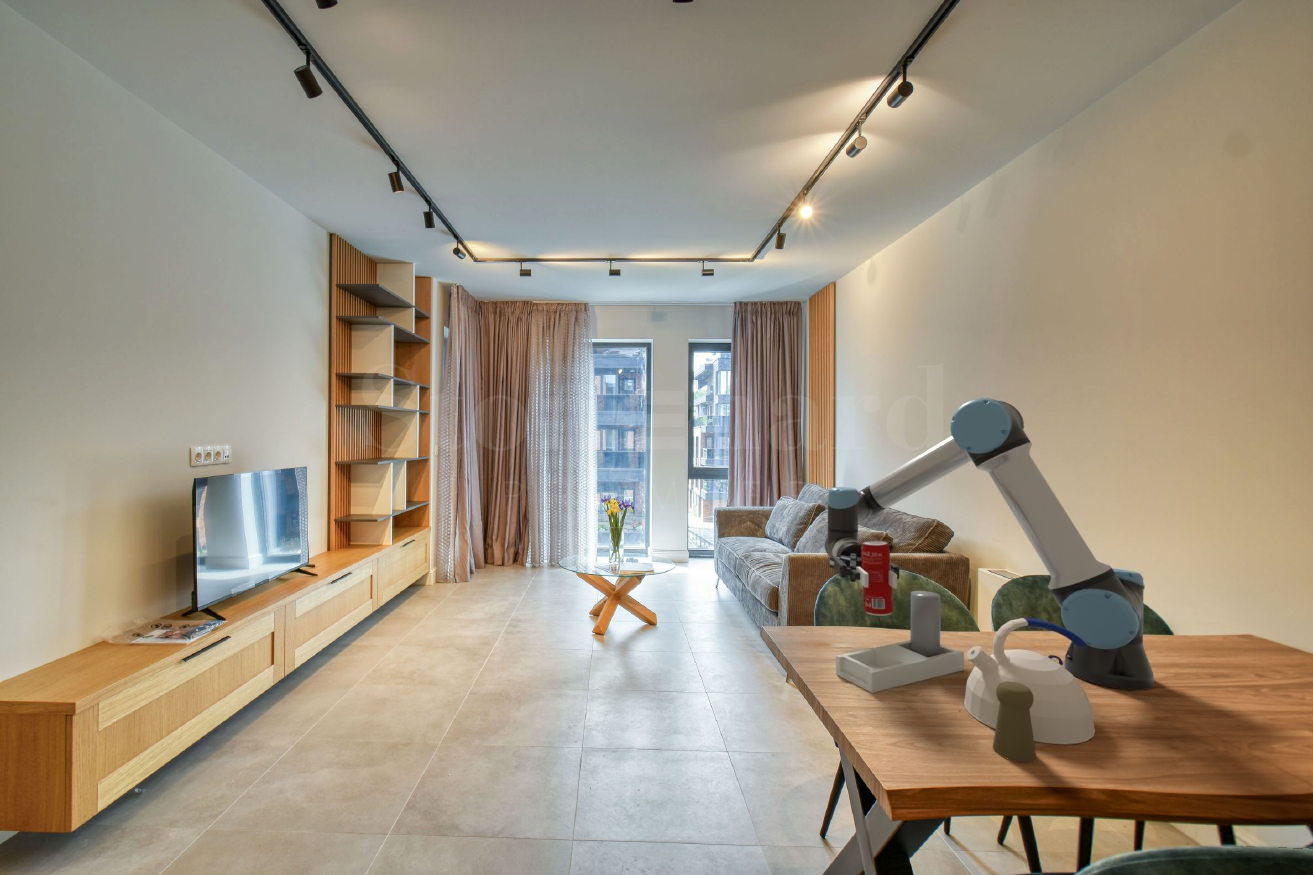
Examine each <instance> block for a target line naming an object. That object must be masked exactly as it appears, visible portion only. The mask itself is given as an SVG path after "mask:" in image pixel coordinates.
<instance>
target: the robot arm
mask: <svg viewBox="0 0 1313 875" xmlns="http://www.w3.org/2000/svg"><path fill="white" fill-rule="evenodd" d="M949 427H950V429H949V430H950V434H951V436H949V437H946V438H945V439H943V440H942V441H941V442H938V443H937V444H935V445H933V446H932V447H930V448H929V449H927V450H926V451H924V452H922V453H920V454H919V455H917V456H915V457H913V458H912V459H911V460H909V461H907V462H906V463H904V464H902V465H900V466H899V467H897V468H896V469H894V470H892V471H891V472H889V473H887V474H886V475H884V476H883V477H881V478H879V479H877V480H876V481H874V482H873V483H871V484H870V485H867V486H866V487H864V488H863V489H861V490H859V491H858V490H857V488H854V487H845V486H835V487H831V488H829V489H828V495H827V497H828V498H827V531H826V532H827V533H826V534H827V536H826V537H825V539H824V543H823V544H824V545H823V546H824V547H823V548H824V549H825V552H826V554H827V556H828V557H829V568H830V569H833V570H834V571H835V572H836V573H837V574H838V575H839V576H840V577H841V578H846V577H847V576H849V582H853V583H854V582H858V583H859V584H860V585H862V587H863V586H864V587H868V573H867V572H865V571H864V570H863V569H862V559H861V547H862V543H861V542H859V522H860V521H865V520H872V519H873V518H875V517H878V516H879V515H880V514H881V513H882V512H883V511H885V510H886V509H888V508H889V507H892V506H893V505H895V504H897V503H899V502H901V501H902V500H905V499H907V498H908V497H909V496H911V495H914V494H915V493H916V492H918V491H920V490H922V489H923V488H926V487H927V486H929V485H931V484H933V483H934V482H936V481H938V480H940V479H943V477H945V476H946V475H948V474H951V473H953V472H954V471H956V470H958V469H960V468H961V467H963V466H965V465H967V464H968V463H970V462H972V463H973V464H974V466H975V467H976V469H978V470H980V471H984V472H986V473H988V474H989V476H990V478H991V480H992V481H993V482H994V484H995V486H996V488H997V489H998V491H999V492H1000V495H1001V496H1002V497H1003V499H1004V501H1005V503H1006V504H1007V506H1008V507H1009V509H1010V511H1011V512H1012V514H1013V516H1014V517H1015V519H1016V521H1017V522H1018V524H1019V526H1020V527H1021V529H1022V531H1023V532H1024V534H1025V535H1026V537H1027V539H1028V541H1029V542H1030V544H1031V545H1032V548H1033V549H1034V551H1035V552H1036V553H1037V555H1038V557H1039V558H1040V559H1039V560H1041V562H1042V563H1043V565H1044V567H1045V568H1046V570H1047V572H1048V573H1049V575H1050V580H1049V583H1048V586H1047V587H1048V590H1049V591H1050V593H1051V594H1052V596H1053V597H1054V599H1055V602H1057V604H1058V606H1059V607H1060V615H1061V619H1062V624H1063V625H1064V628H1065V629H1067V630H1069V631H1071V632H1073V633H1074V634H1076V635H1077V636H1079V637H1080V638H1081V639H1082V640H1083V641H1084V642H1085V643H1086V646H1077V645H1075V644H1074V643H1073V642H1072V641H1071V640H1070V643H1069V646H1068V649H1067V651H1066V653H1065V655H1064V668H1065V669H1066V670H1067V671H1069V672H1070V673H1071V674H1072V675H1073V676H1074V677H1075V678H1076V677H1077V678H1079V679H1081V680H1083V681H1086V682H1089V683H1092V684H1097V685H1099V686H1103V687H1109V688H1114V689H1119V690H1129V691H1131V690H1132V691H1142V690H1144V691H1145V690H1148V689H1151V688H1153V687H1154V680H1155V679H1154V678H1155V677H1154V672H1153V669H1152V666H1151V663H1150V661H1149V658H1148V655H1147V653H1146V650H1145V647H1144V590H1145V584H1144V577H1143V575H1142V573H1139V572H1136V571H1133V570H1127V569H1120V568H1113V567H1112V566H1111V565H1110V564H1107V563H1104V562H1101V561H1099V560H1097V558H1096V557H1095V556H1094V554H1093V552H1092V550H1091V549H1090V548H1089V546H1088V545H1087V543H1086V541H1085V540H1084V539H1083V536H1082V534H1080V532H1079V531H1078V528H1077V527H1076V525H1075V524H1074V523H1073V521H1072V520H1071V518H1070V516H1069V515H1068V513H1067V511H1066V510H1065V509H1064V507H1063V505H1062V504H1061V502H1060V500H1059V499H1058V497H1057V495H1056V494H1055V492H1054V491H1053V490H1052V488H1051V486H1050V485H1049V483H1048V481H1047V480H1046V479H1045V477H1044V475H1043V474H1042V472H1041V470H1040V469H1039V468H1038V466H1037V464H1036V463H1035V461H1034V460H1033V458H1032V457H1031V455H1030V450H1031V447H1032V446H1033V443H1032V442H1031V439H1030V438H1029V437H1028V435H1027V433H1026V432H1025V430H1024V429H1025V422H1024V418H1023V415H1022V414H1021V412H1020V411H1019V410H1018V409H1017V408H1016V407H1015V406H1013V405H1012V404H1011V403H1009V402H1005V401H1001V400H998V399H995V398H994V399H993V398H989V397H980V398H976V399H972V400H969V401H967V402H965V403H963V404H962V405H960V406H959V407H958V408H957V409H956V410H955V411H954V414H953V415H952V418H951V421H950V426H949ZM890 562H891V570H890V571H888V584H889V585H890V586H891V587H892V589H898V580H899V579H900V566H899V565H898V564H895V563H894V562H892V561H891V560H890Z"/></svg>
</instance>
